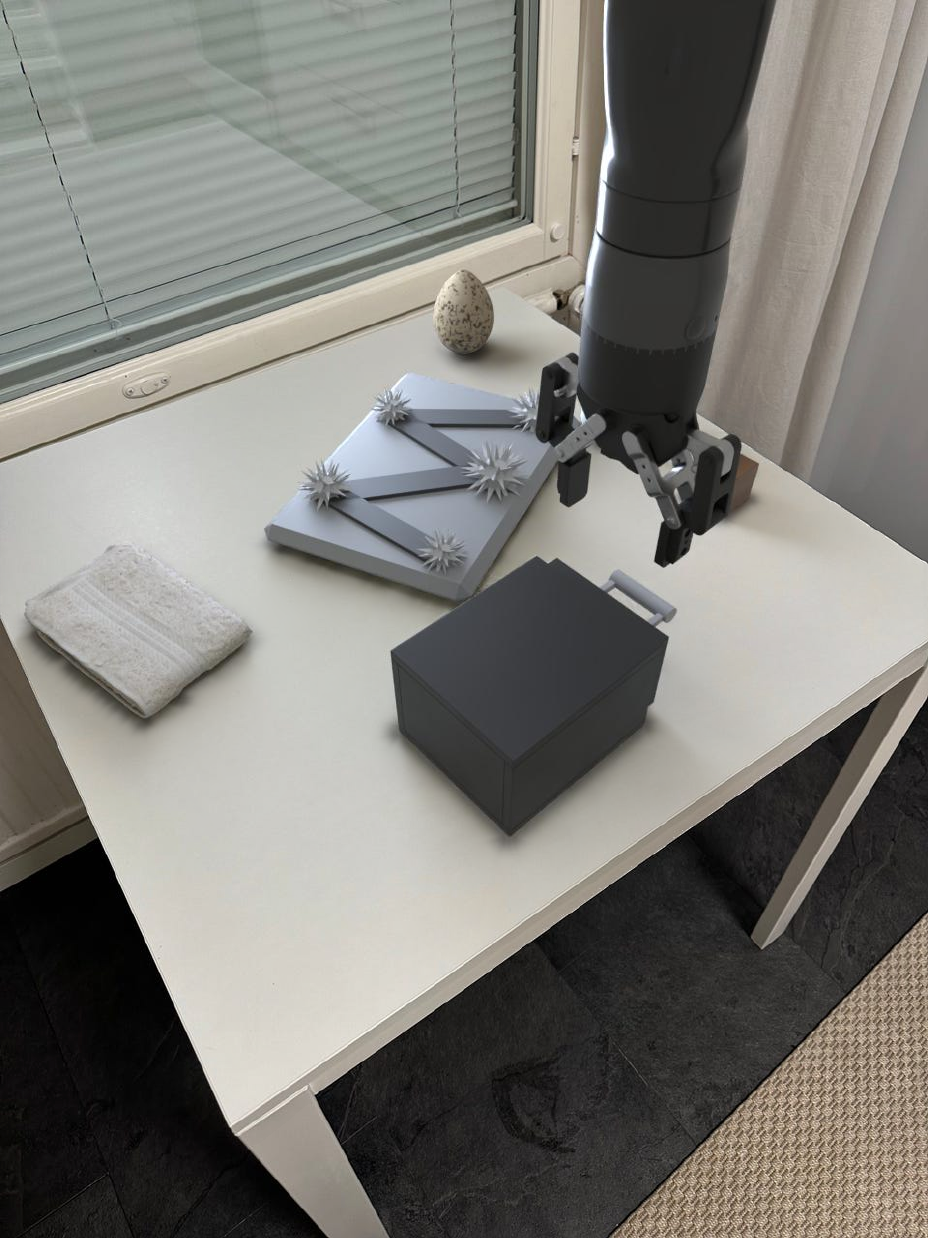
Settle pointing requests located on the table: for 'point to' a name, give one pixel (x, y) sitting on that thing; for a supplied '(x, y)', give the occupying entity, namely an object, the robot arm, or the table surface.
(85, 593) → the washcloth
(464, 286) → the decorative egg
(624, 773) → the table surface
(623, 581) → the drawer
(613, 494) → the table surface
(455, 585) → the grey zigzag star board
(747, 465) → the block
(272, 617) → the table surface
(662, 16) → the robot arm
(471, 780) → the cabinet
